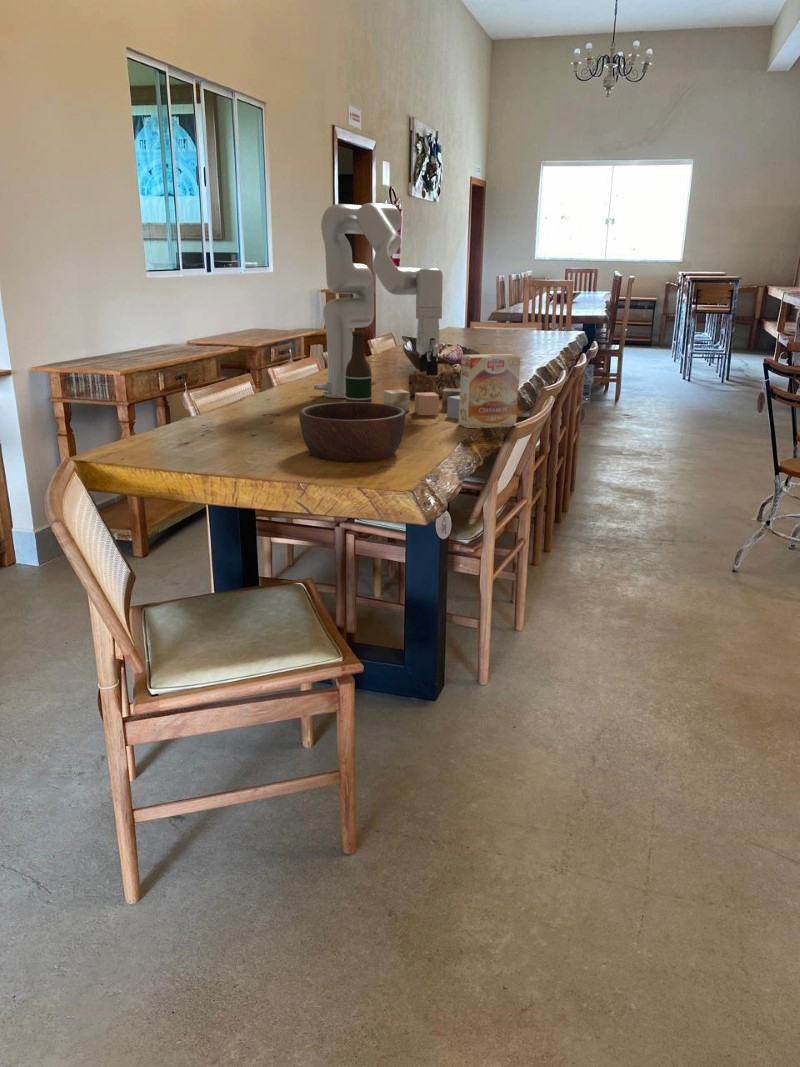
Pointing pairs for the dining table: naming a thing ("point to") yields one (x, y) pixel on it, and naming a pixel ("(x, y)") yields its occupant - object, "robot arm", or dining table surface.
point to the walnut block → (448, 393)
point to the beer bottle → (358, 372)
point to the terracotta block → (426, 403)
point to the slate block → (453, 406)
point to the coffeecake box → (489, 390)
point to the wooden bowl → (352, 430)
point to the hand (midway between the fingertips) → (428, 373)
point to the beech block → (397, 398)
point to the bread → (434, 380)
